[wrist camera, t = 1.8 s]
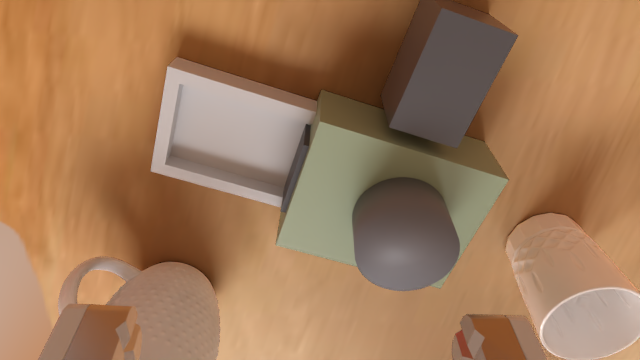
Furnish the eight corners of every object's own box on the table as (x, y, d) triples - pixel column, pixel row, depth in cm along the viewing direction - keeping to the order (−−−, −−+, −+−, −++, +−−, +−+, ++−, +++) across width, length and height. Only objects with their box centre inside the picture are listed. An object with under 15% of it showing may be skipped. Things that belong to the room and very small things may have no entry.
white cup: (485, 266, 45) (523, 353, 36) (518, 199, 41) (569, 279, 32) (562, 279, 46) (617, 367, 37) (602, 214, 42) (674, 296, 33)
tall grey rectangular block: (488, 14, 33) (518, 35, 28) (439, 113, 37) (456, 148, 32) (423, -10, 32) (441, 7, 27) (380, 94, 36) (388, 127, 31)
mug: (66, 255, 45) (-20, 373, 34) (141, 195, 41) (72, 306, 30) (181, 338, 51) (140, 463, 40) (256, 293, 47) (233, 416, 36)
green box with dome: (484, 141, 38) (530, 212, 30) (427, 242, 44) (451, 326, 35) (178, 43, 34) (129, 92, 26) (157, 167, 40) (110, 241, 31)
